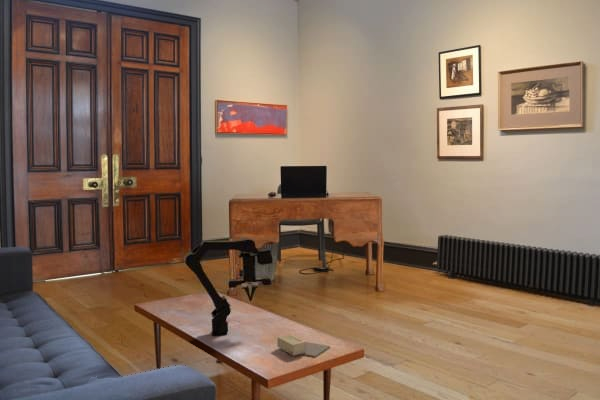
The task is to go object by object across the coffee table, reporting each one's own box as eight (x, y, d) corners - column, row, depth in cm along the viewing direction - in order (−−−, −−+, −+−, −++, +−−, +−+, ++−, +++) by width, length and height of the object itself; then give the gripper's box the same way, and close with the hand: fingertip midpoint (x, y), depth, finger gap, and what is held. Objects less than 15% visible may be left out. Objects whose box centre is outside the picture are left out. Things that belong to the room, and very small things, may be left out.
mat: (284, 351, 216) (284, 350, 216) (300, 342, 226) (300, 340, 226) (315, 357, 208) (315, 355, 208) (330, 347, 219) (330, 346, 219)
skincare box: (277, 346, 219) (292, 356, 209) (276, 336, 219) (292, 345, 208) (291, 343, 222) (306, 352, 212) (290, 333, 222) (306, 341, 212)
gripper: (268, 261, 251) (269, 294, 253) (227, 264, 249) (229, 298, 250) (270, 266, 240) (272, 301, 242) (227, 269, 238) (229, 304, 239)
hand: (250, 301), depth 243 cm, fingers closed
